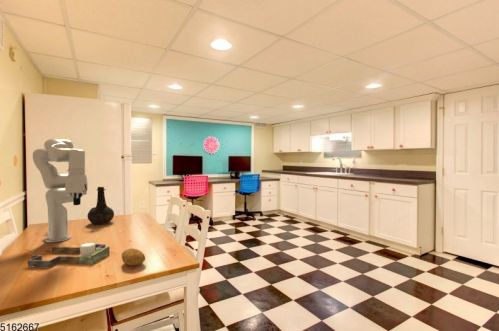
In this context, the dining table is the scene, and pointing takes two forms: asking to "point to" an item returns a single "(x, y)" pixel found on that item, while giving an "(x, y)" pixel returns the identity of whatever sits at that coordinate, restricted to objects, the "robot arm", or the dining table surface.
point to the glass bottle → (100, 210)
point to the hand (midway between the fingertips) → (77, 204)
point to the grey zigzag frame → (100, 253)
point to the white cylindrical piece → (87, 249)
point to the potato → (133, 257)
